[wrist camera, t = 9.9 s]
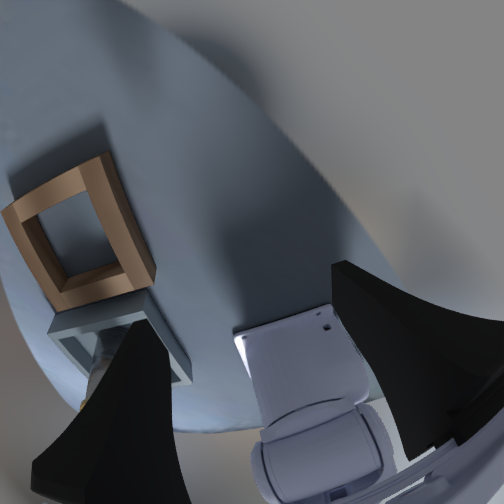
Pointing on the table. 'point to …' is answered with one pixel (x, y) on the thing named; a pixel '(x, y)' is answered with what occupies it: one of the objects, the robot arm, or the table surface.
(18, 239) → the socket block
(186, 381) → the tray
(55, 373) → the table surface
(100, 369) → the jar with gold lid
